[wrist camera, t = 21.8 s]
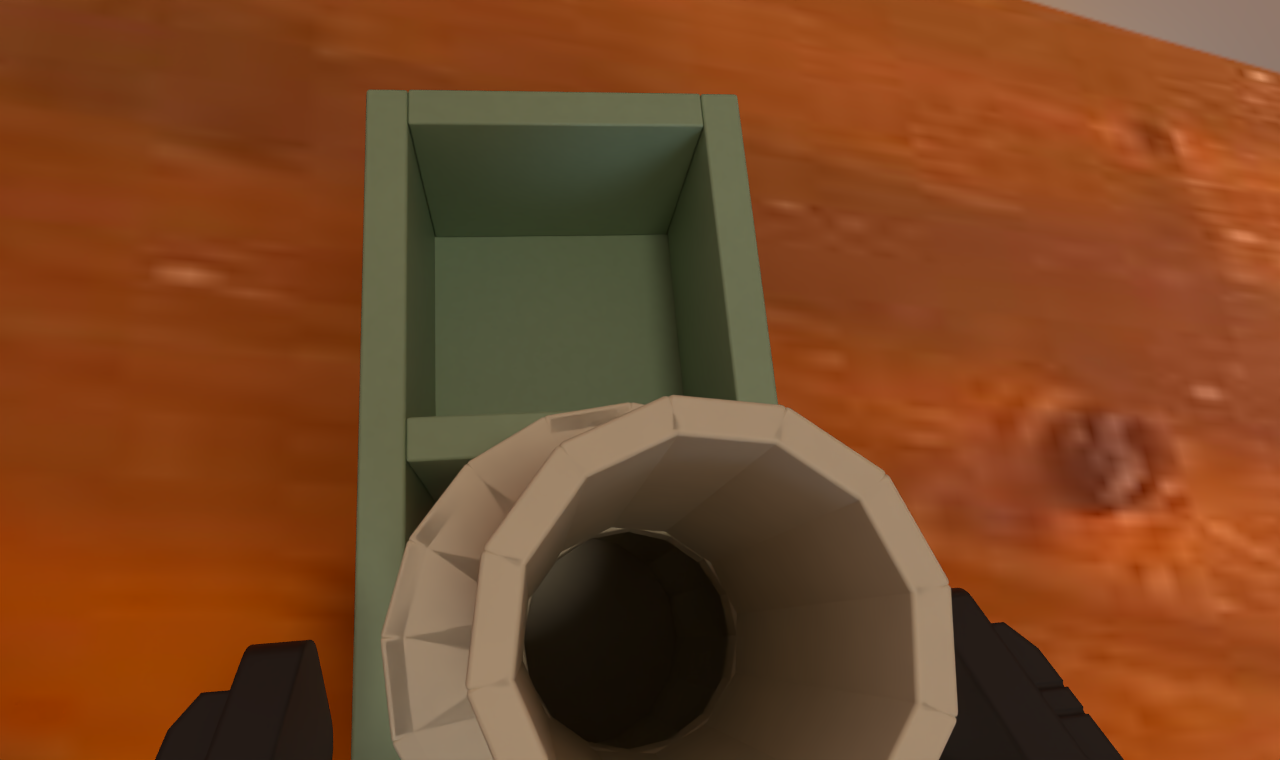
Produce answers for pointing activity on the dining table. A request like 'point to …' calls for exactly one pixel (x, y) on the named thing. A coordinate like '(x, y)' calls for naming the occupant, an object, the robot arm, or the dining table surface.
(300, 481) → the dining table surface
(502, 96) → the rack
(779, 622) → the bottle
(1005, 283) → the dining table surface
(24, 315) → the dining table surface
